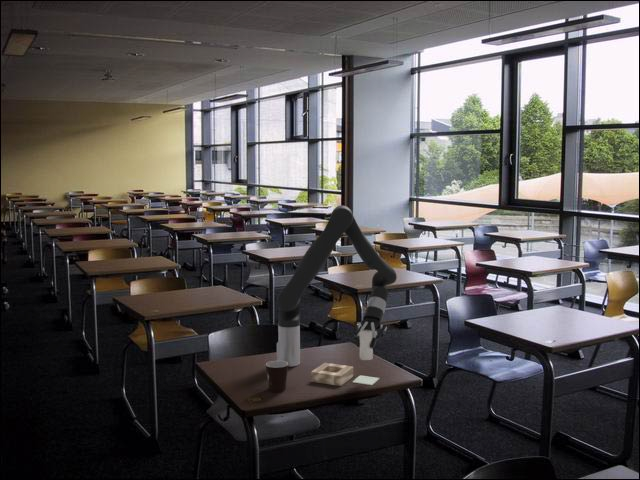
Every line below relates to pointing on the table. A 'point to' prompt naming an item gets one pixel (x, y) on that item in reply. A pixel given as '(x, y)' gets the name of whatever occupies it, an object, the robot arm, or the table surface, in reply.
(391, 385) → the table surface
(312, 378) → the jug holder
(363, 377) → the mat
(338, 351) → the table surface
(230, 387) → the table surface
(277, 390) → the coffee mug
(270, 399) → the table surface
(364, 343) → the white upright block
